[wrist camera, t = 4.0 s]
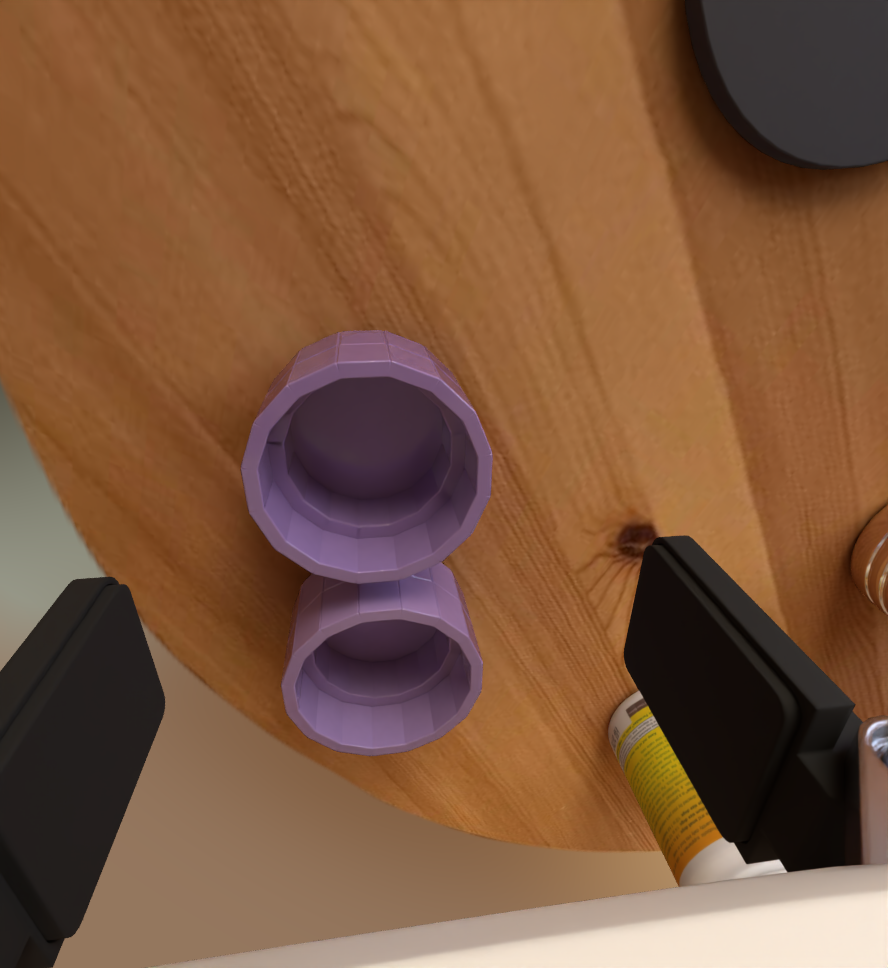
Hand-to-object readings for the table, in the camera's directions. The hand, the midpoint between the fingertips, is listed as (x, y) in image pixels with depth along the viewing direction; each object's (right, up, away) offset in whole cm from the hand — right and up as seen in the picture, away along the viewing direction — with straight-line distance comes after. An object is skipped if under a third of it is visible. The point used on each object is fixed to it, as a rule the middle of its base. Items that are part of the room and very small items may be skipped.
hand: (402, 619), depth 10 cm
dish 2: (-2, -3, +13) cm, 13 cm away
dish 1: (-2, +5, +9) cm, 10 cm away
